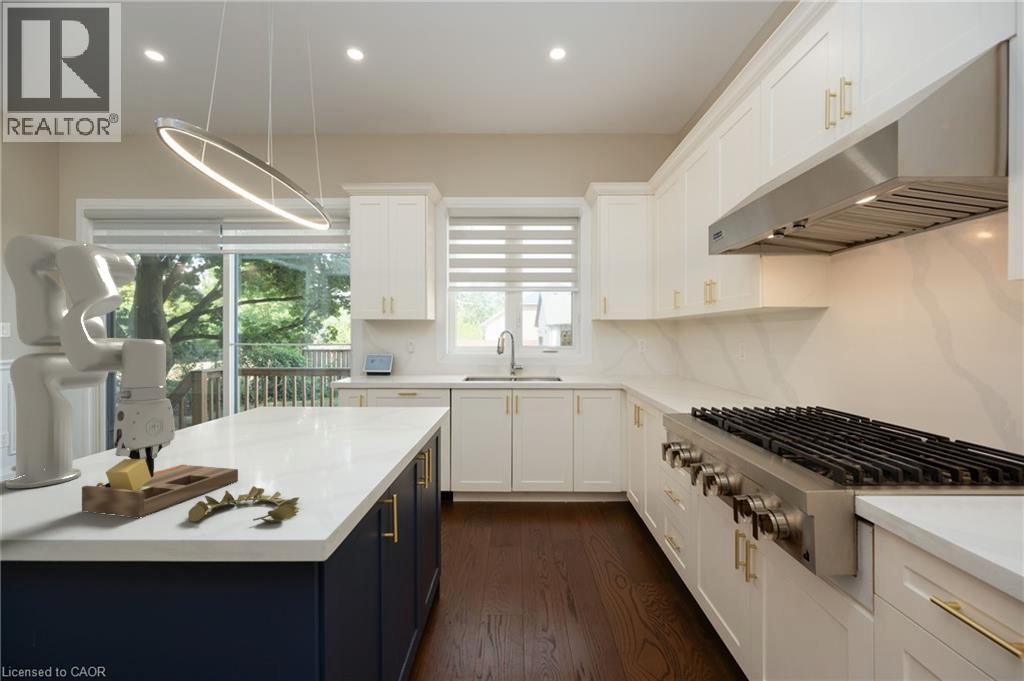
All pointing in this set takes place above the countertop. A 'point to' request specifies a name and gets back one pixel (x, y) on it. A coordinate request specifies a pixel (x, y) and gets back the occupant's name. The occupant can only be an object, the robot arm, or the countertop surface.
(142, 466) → the block
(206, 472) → the wooden tray
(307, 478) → the countertop surface
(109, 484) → the toy gun
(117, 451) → the robot arm
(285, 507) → the headpiece
